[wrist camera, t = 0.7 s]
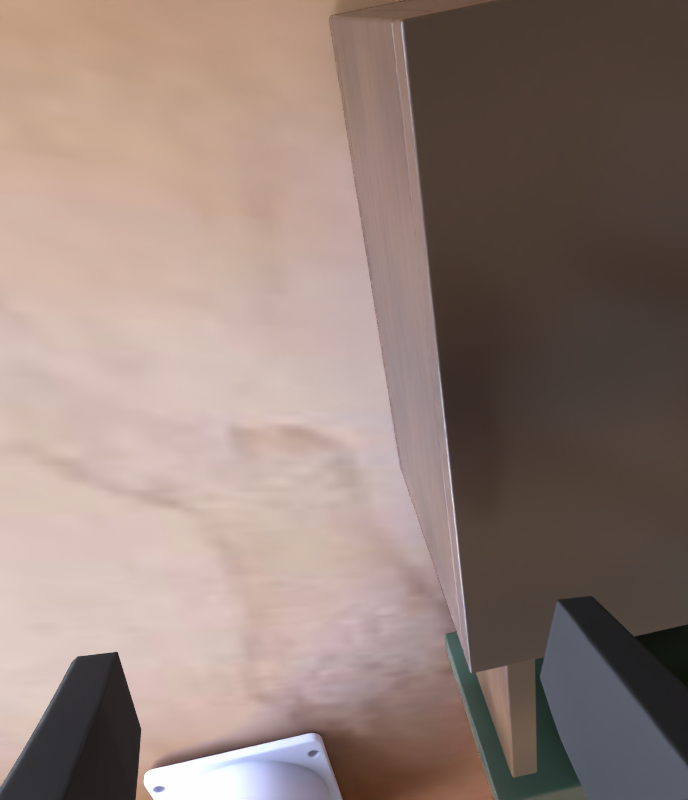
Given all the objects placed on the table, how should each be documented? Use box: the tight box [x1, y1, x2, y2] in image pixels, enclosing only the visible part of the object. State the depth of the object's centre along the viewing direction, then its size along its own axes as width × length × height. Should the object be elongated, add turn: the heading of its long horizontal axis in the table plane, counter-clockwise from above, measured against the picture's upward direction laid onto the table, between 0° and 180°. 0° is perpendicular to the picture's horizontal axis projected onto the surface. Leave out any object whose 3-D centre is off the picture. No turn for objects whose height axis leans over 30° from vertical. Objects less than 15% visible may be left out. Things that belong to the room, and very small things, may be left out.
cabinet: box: [329, 0, 688, 673], centre depth 15 cm, size 13×11×8 cm
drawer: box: [445, 624, 688, 800], centre depth 21 cm, size 16×10×6 cm, turn 10°
